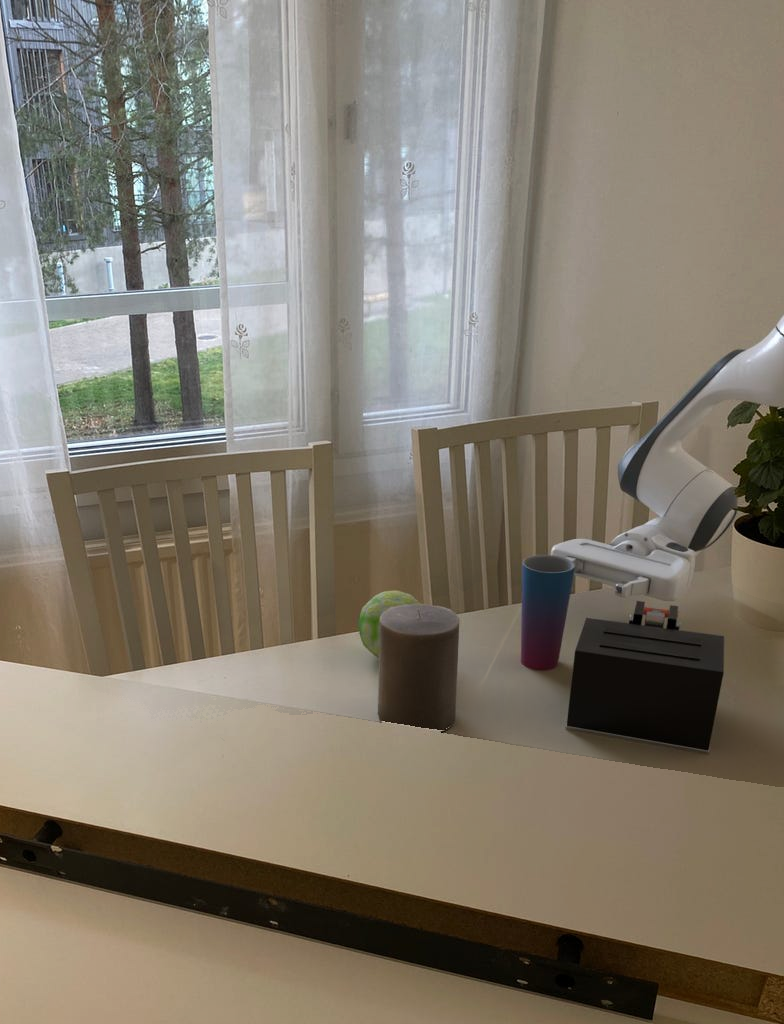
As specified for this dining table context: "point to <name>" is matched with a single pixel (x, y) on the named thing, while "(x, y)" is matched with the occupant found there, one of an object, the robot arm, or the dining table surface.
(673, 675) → the toaster
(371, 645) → the decorative ball
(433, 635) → the pillar candle
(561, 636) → the cup
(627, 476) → the robot arm
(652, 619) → the lever
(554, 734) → the dining table surface
